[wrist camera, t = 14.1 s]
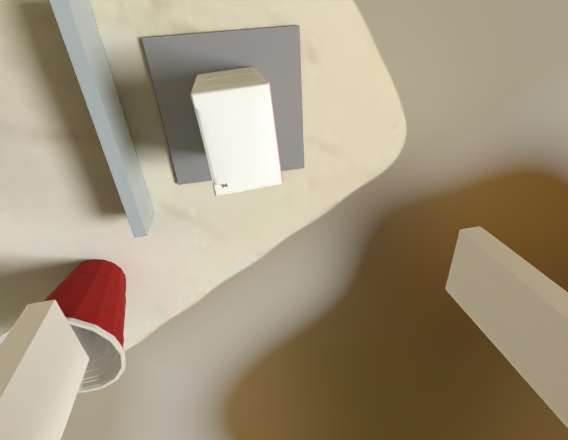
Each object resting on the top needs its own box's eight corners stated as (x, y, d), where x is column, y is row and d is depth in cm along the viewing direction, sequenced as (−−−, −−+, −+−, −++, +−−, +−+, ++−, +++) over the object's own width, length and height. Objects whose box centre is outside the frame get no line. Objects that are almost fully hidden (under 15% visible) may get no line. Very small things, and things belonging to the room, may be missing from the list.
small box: (266, 145, 36) (284, 186, 27) (214, 154, 35) (215, 199, 26) (254, 64, 32) (272, 81, 23) (195, 72, 31) (189, 93, 22)
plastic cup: (25, 266, 38) (-42, 354, 28) (109, 227, 38) (71, 302, 28) (90, 322, 44) (54, 413, 34) (163, 289, 43) (149, 371, 33)
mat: (178, 183, 37) (178, 184, 36) (142, 37, 29) (141, 38, 29) (303, 166, 38) (304, 167, 38) (298, 25, 31) (299, 25, 31)
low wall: (143, 213, 38) (134, 237, 33) (73, 0, 27) (47, -4, 23) (154, 211, 38) (146, 235, 33) (88, -1, 27) (66, -5, 23)
